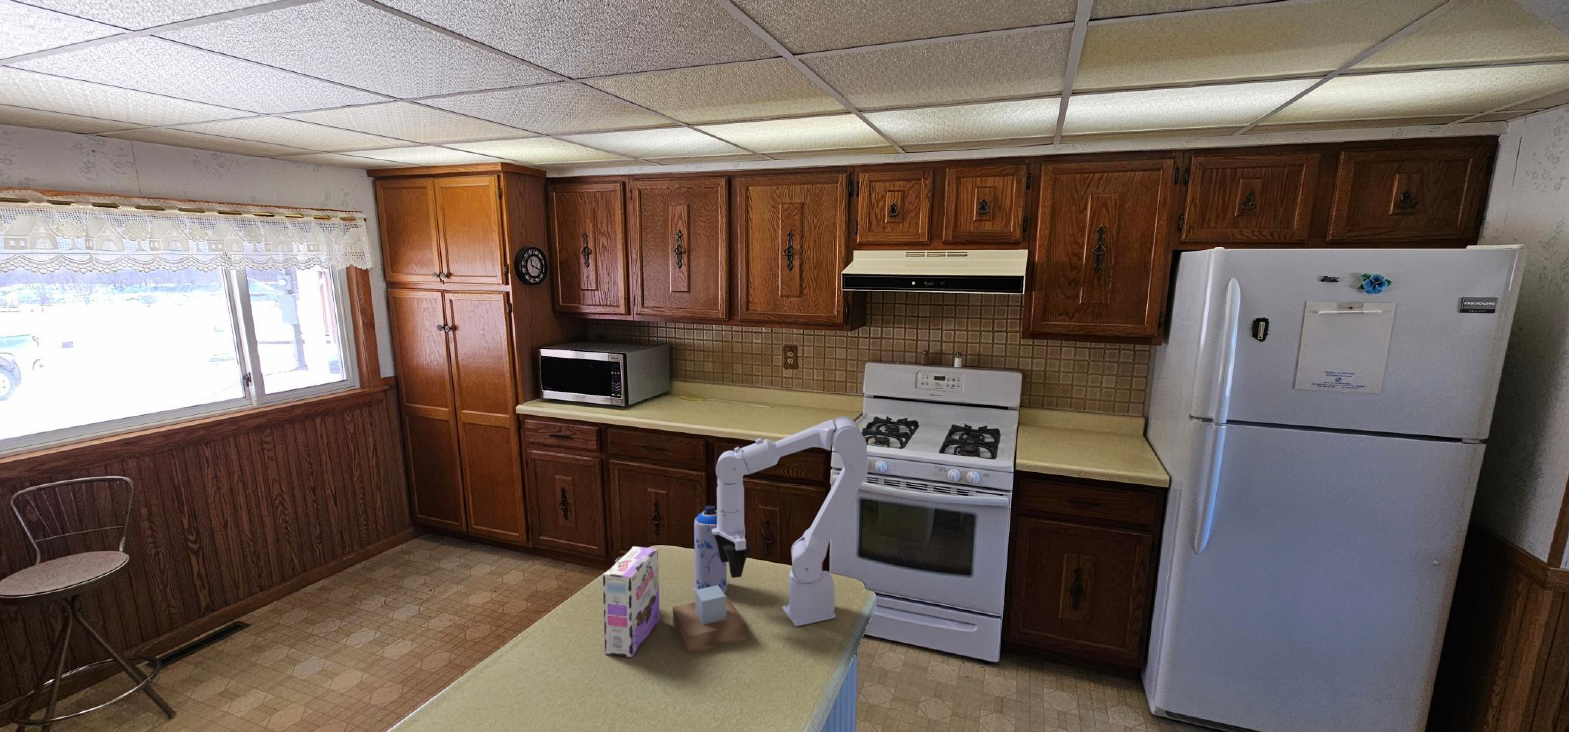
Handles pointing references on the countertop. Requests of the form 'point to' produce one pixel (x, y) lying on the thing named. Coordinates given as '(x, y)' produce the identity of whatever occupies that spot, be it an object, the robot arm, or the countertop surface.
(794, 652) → the countertop surface
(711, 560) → the aerosol can
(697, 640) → the walnut slab
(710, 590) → the slate cube
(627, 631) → the candy box
